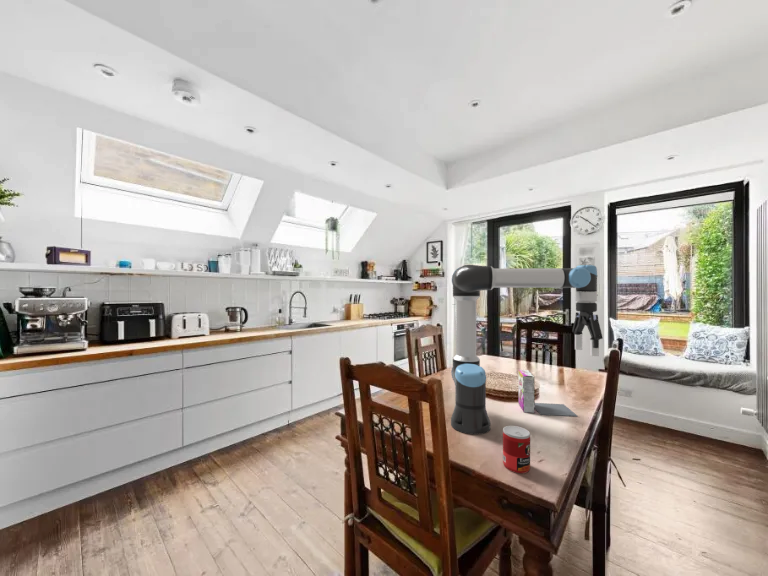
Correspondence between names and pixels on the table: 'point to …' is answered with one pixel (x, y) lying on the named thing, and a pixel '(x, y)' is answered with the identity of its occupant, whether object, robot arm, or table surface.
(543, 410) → the mat
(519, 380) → the candy bar box
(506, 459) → the canned food
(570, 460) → the table surface
